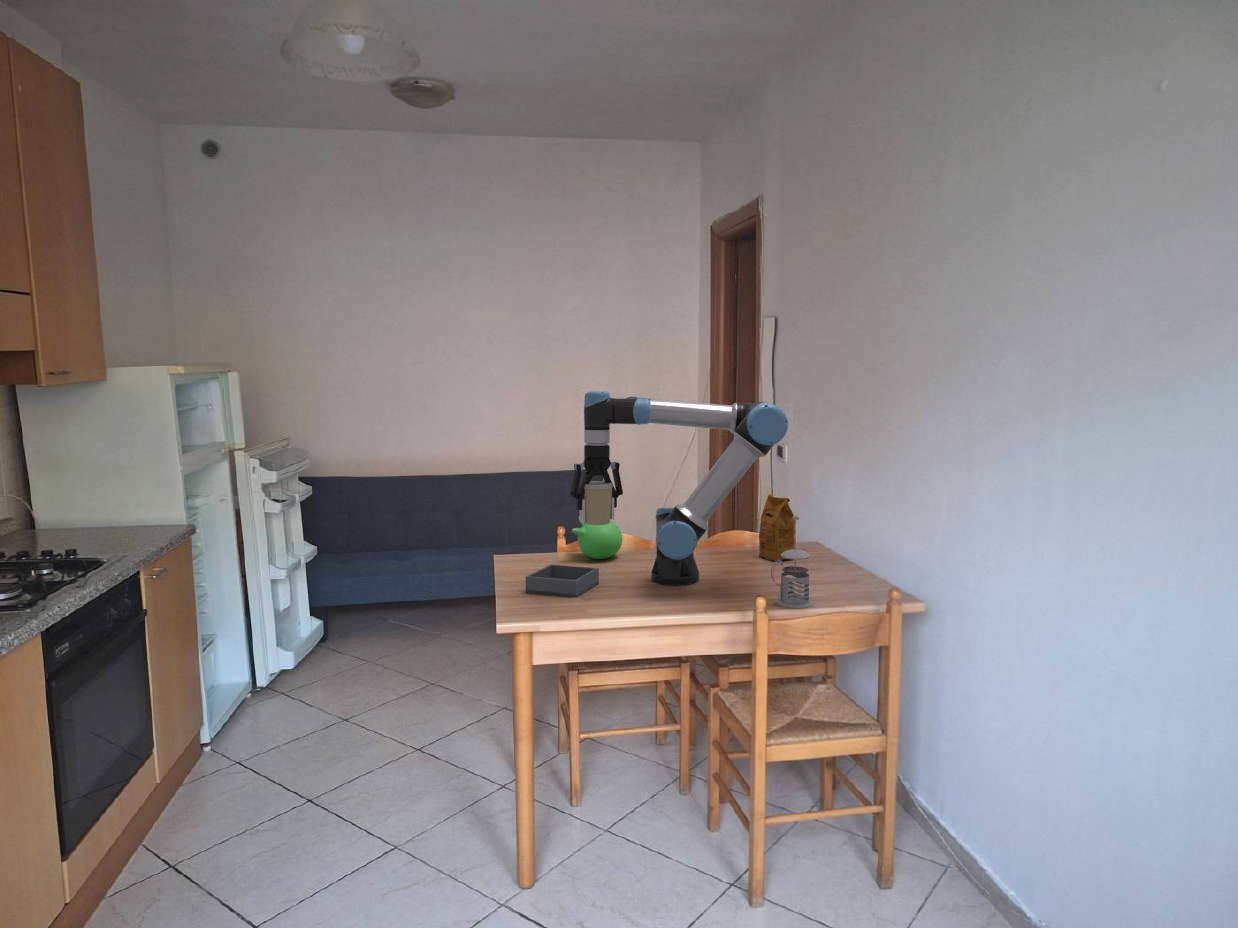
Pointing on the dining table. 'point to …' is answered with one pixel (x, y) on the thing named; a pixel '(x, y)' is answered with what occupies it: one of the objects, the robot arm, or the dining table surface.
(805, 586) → the french press
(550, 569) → the bin
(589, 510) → the coffee cup
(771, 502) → the coffee package
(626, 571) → the dining table surface
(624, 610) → the dining table surface
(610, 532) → the green round figure
